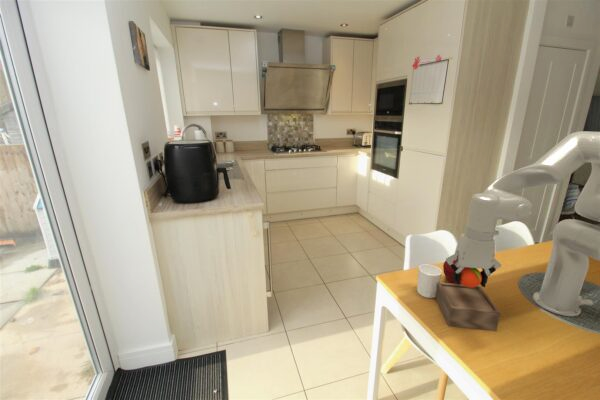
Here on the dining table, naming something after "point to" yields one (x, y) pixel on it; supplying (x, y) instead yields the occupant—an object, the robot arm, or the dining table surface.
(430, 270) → the white cup
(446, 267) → the apple
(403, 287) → the dining table surface
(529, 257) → the dining table surface
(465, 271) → the clementine
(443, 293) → the walnut stand
